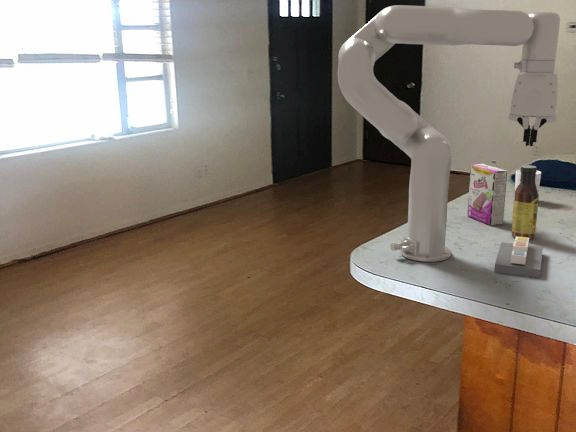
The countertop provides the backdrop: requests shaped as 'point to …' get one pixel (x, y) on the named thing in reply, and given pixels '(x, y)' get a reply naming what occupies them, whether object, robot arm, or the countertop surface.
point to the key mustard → (522, 239)
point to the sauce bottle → (525, 204)
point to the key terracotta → (520, 246)
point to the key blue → (518, 257)
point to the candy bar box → (487, 194)
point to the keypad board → (528, 269)
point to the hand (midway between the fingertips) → (529, 145)
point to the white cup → (518, 177)
